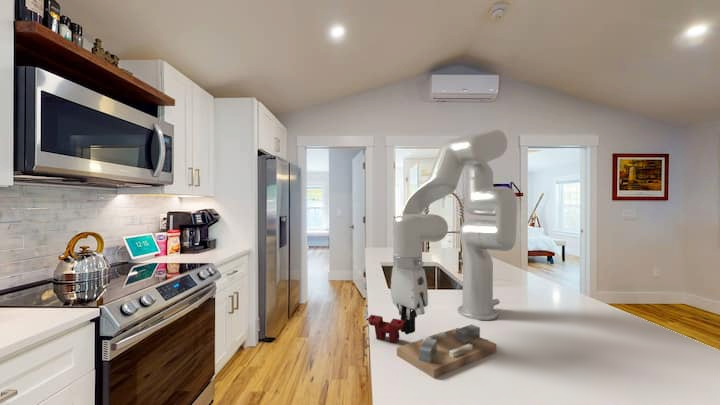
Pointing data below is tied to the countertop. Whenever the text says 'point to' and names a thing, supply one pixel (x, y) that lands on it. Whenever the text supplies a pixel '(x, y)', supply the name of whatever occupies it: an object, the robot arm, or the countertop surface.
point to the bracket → (386, 327)
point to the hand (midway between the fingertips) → (407, 331)
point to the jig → (447, 350)
